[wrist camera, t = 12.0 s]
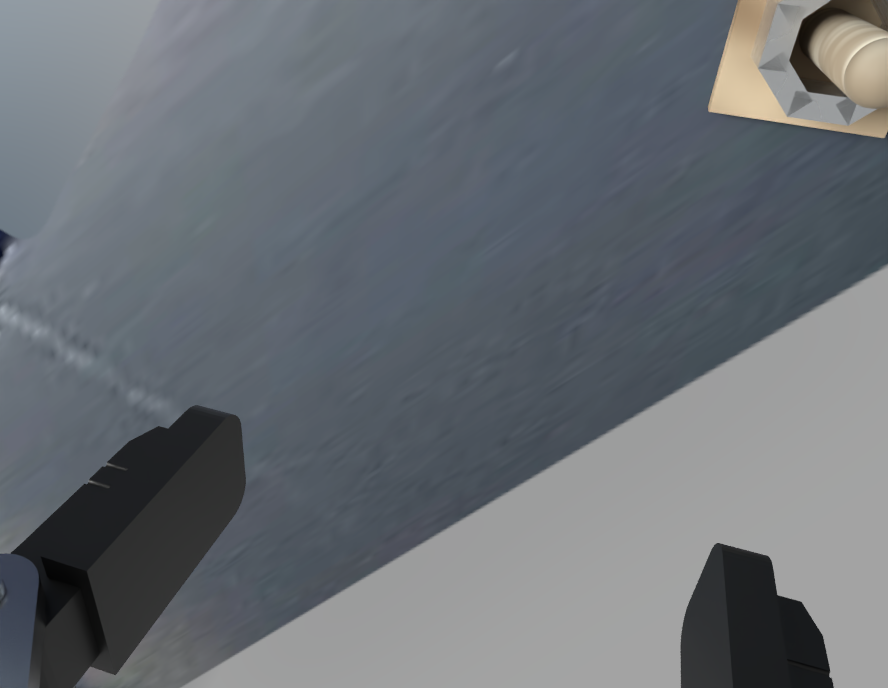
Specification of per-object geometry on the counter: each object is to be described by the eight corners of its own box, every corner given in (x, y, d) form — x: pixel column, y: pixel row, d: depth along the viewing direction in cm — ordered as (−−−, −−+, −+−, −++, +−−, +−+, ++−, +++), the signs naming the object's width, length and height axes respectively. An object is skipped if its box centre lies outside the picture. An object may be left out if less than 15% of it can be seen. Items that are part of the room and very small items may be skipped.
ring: (781, -49, 30) (793, -46, 27) (932, -33, 29) (961, -29, 26) (738, 94, 33) (744, 110, 31) (872, 113, 32) (892, 132, 29)
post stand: (760, -79, 31) (802, -81, 21) (959, -59, 29) (1107, -51, 19) (707, 107, 35) (721, 179, 25) (879, 132, 34) (966, 221, 24)
